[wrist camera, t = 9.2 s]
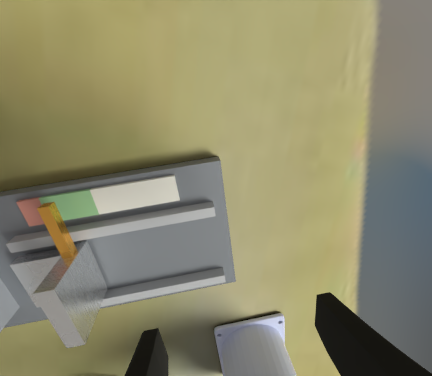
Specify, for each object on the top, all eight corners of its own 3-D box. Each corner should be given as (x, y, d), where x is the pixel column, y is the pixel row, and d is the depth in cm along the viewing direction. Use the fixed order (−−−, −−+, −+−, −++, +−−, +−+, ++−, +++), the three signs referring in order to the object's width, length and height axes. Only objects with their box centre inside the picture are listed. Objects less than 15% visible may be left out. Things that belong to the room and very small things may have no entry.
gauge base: (233, 272, 22) (248, 330, 17) (14, 315, 21) (-46, 393, 16) (218, 156, 18) (232, 184, 12) (-67, 202, 16) (-193, 257, 11)
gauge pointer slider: (107, 287, 19) (85, 344, 15) (45, 299, 19) (3, 361, 15) (66, 193, 16) (21, 232, 11) (-11, 206, 16) (-89, 251, 11)
